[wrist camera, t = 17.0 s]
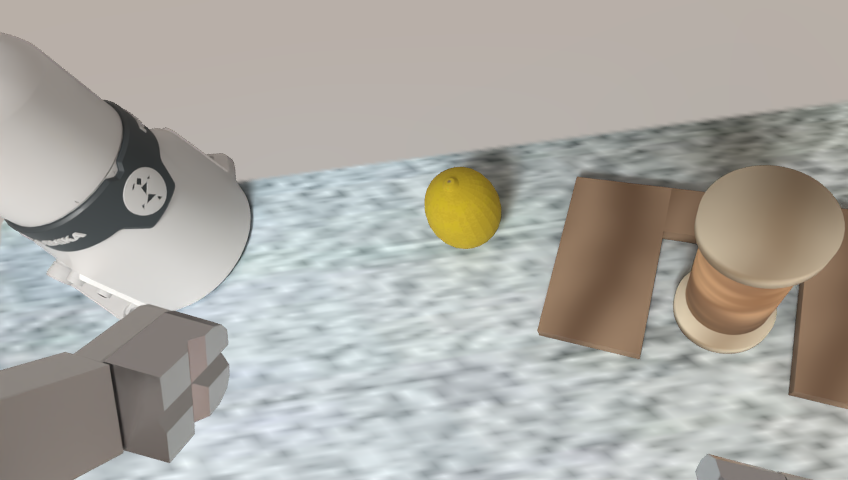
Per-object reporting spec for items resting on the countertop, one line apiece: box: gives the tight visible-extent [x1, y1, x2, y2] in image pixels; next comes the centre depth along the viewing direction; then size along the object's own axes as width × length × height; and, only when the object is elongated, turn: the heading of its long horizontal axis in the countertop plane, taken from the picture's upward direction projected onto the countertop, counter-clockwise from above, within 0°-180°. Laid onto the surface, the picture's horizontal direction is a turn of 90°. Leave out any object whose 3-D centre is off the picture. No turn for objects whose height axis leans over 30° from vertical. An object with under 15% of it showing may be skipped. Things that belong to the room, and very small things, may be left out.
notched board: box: [537, 177, 848, 409], centre depth 37 cm, size 20×12×1 cm, turn 71°
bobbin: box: [673, 165, 845, 354], centre depth 31 cm, size 6×6×13 cm
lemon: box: [425, 167, 501, 249], centre depth 41 cm, size 6×6×8 cm
